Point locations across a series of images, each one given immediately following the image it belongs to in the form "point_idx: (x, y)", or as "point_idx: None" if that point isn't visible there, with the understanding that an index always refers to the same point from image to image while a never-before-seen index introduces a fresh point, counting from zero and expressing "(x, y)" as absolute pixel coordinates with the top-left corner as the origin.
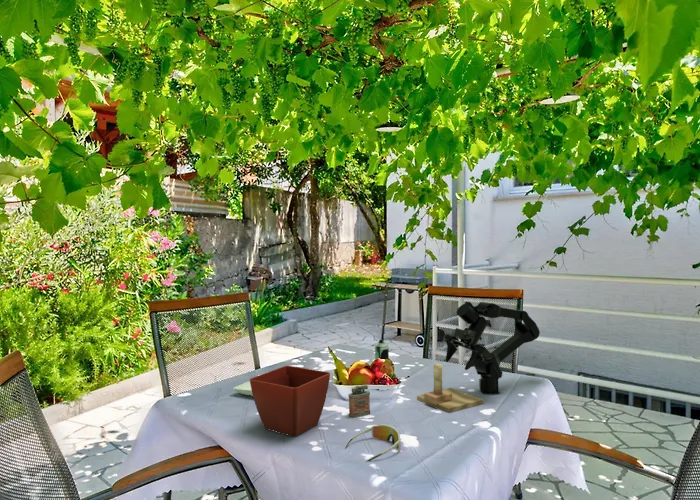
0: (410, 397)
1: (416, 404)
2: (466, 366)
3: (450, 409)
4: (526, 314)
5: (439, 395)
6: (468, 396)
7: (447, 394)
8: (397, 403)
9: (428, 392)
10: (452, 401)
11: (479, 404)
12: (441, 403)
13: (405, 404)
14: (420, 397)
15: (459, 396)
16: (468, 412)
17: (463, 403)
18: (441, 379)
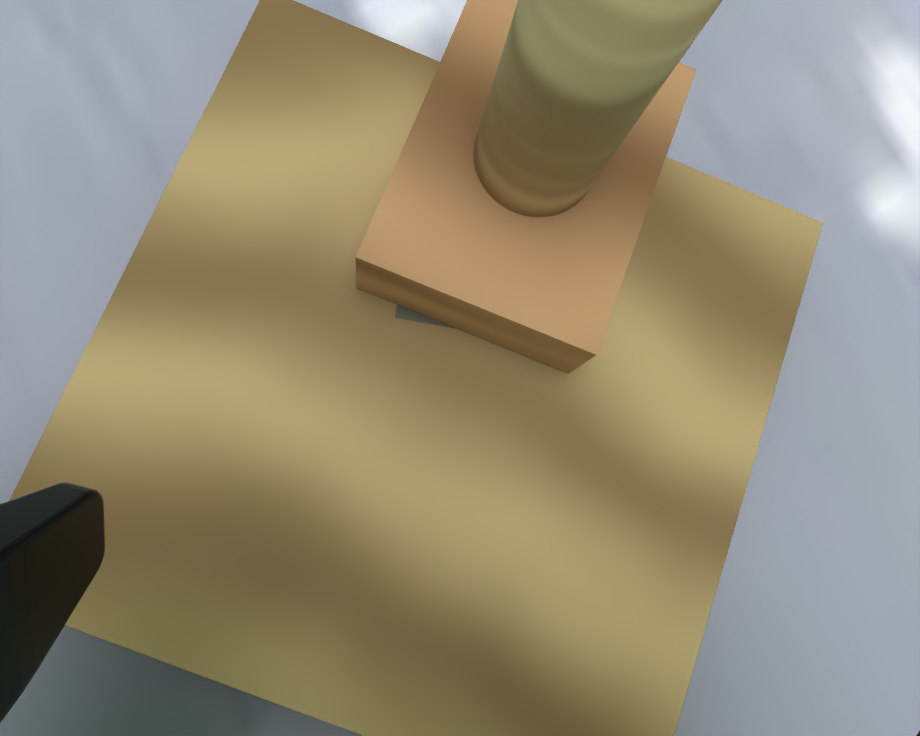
0: (900, 276)
1: (710, 97)
2: (1, 520)
3: (254, 26)
4: None
5: (477, 91)
6: (227, 597)
7: (399, 186)
8: (885, 24)
9: (671, 132)
10: (337, 257)
11: None
12: None
13: (802, 38)
14: (757, 197)
15: (345, 517)
16: (68, 156)
17: (173, 262)
18: (519, 7)
